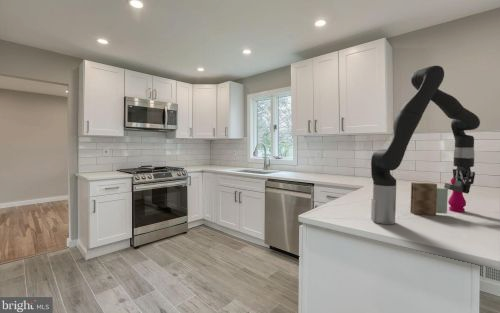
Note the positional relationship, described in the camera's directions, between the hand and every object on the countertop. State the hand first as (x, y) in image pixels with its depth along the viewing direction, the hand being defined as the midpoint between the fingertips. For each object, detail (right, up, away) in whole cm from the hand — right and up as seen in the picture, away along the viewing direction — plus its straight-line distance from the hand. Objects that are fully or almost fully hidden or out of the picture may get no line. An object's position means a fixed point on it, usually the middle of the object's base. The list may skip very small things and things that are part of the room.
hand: (462, 191), depth 118 cm
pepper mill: (+6, -12, +10) cm, 17 cm away
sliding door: (-12, -13, +4) cm, 18 cm away
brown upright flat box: (-16, -12, +5) cm, 21 cm away
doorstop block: (-3, 0, +1) cm, 3 cm away
